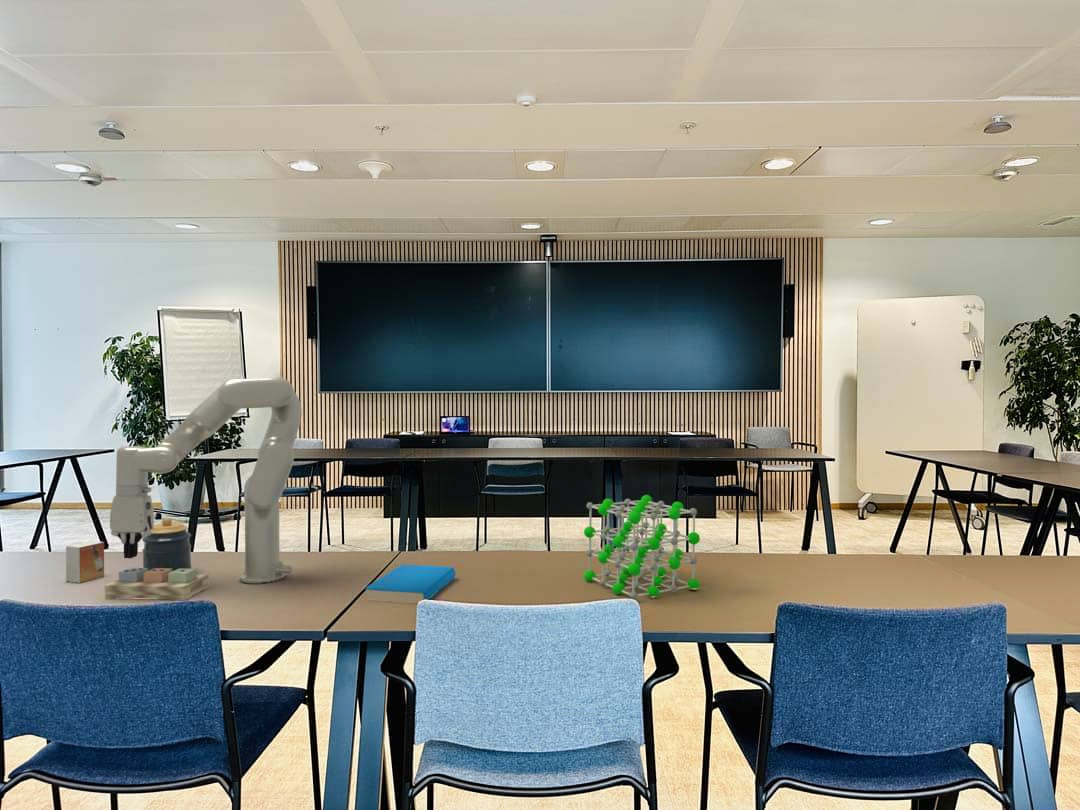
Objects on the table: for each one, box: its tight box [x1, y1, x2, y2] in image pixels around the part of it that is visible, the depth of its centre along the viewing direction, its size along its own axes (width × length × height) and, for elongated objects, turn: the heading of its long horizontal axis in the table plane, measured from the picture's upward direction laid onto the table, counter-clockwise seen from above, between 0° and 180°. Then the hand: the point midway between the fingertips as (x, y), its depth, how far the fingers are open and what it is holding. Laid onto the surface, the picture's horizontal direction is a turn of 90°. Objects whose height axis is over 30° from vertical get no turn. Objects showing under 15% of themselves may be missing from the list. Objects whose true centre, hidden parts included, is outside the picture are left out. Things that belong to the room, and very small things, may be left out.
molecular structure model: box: [583, 494, 701, 600], centre depth 195 cm, size 24×25×24 cm
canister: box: [141, 517, 192, 571], centre depth 205 cm, size 13×13×18 cm
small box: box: [65, 540, 105, 584], centre depth 201 cm, size 8×6×10 cm
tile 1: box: [168, 568, 197, 584], centre depth 187 cm, size 5×5×3 cm
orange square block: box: [144, 568, 172, 583], centre depth 188 cm, size 5×5×3 cm
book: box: [364, 563, 456, 603], centre depth 192 cm, size 17×4×25 cm
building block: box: [118, 567, 148, 583], centre depth 188 cm, size 5×5×3 cm
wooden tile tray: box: [104, 574, 210, 601], centre depth 188 cm, size 22×12×4 cm, turn 87°
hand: (130, 557), depth 188 cm, fingers closed
